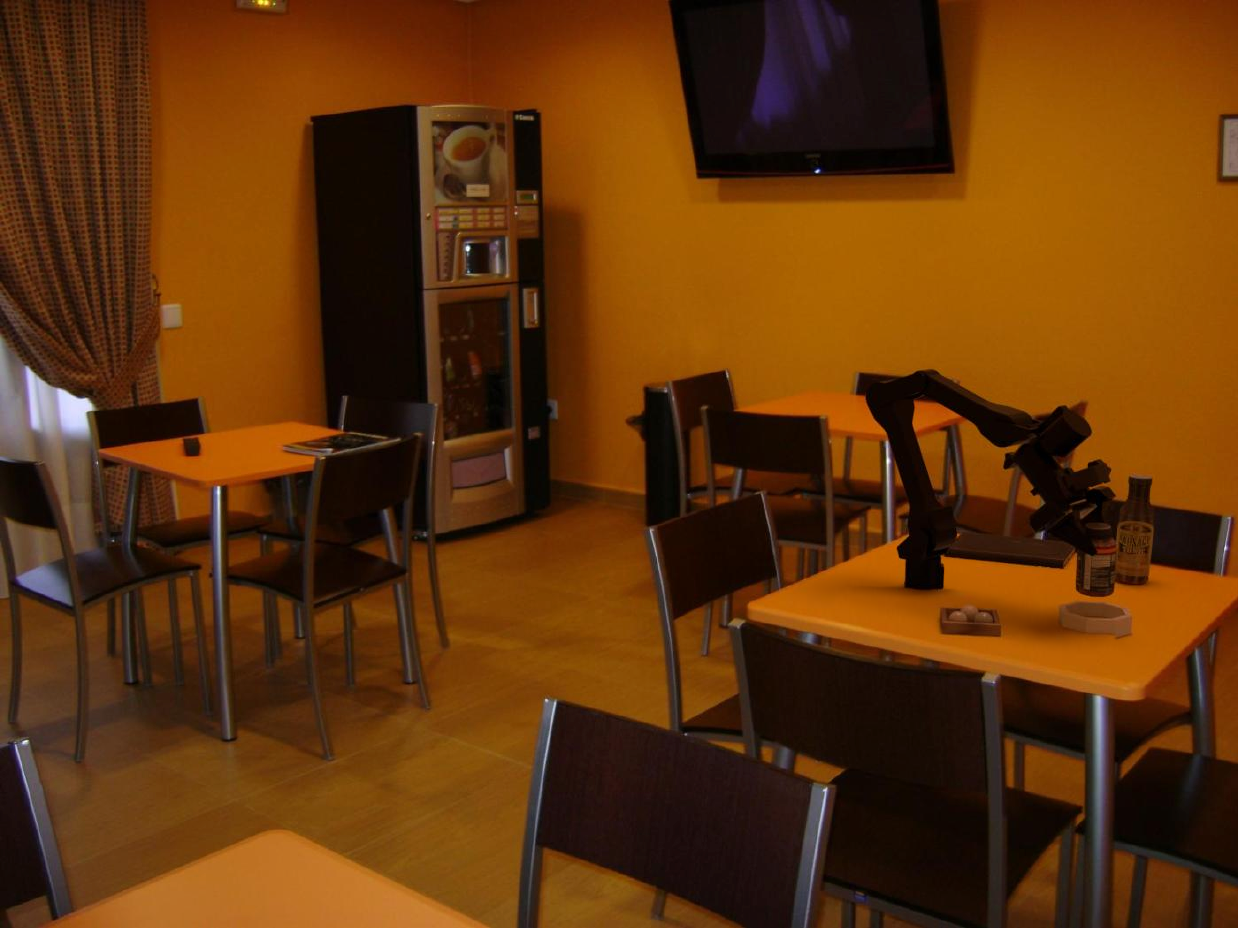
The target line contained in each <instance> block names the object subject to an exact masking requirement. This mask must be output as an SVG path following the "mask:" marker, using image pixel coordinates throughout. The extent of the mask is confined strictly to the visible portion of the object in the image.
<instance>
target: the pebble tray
mask: <svg viewBox="0 0 1238 928" xmlns="http://www.w3.org/2000/svg"><path fill="white" fill-rule="evenodd" d="M976 608H977V607H976ZM961 609H962V607H957V606H956V607H955V606H954V607H953V606H940V617H939V618H940V626H941V633H942V635H944V634H945V635H961V636H964V635H966V636H983V637H1002V635H1001V633H1002V624H1001V621H1000V616H999V613H998V609H997V608H996V609H995V608H979V607H978V608H977V610H978V612H979V613H980V612H986V613H988V614H990V615H991V616H992V618H993V623H974V622H952V621H948V619H949V616H950V614H951V613H953V612H955V611H960V610H961Z"/></svg>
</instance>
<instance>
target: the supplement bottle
mask: <svg viewBox="0 0 1238 928" xmlns="http://www.w3.org/2000/svg"><path fill="white" fill-rule="evenodd" d="M1084 530H1085V532H1086V533H1087V535H1088V536H1089V538H1090V540H1091V541H1092V543H1093V544H1094V546H1095V548H1096V550H1097V554H1095V555H1094V556H1090V555H1089V554H1087V553H1085V552H1083V551H1081V550H1080V549H1078V548H1076V568H1075V573H1076V574H1075V591H1076V592H1077V593H1079V594H1080V595H1083V596H1086V597H1091V598H1105V597H1108V596H1112V595H1113V594H1114V593H1115V584H1116V583H1115V582H1116V580H1115V568H1116V548H1117V545H1116V540H1115V538H1114V539H1113V538H1111V537H1110V534H1111V531H1112V526H1111V525H1110V524H1109V525H1108V524H1104V523H1088V524H1086V525H1085V529H1084Z"/></svg>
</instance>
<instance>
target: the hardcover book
mask: <svg viewBox="0 0 1238 928" xmlns="http://www.w3.org/2000/svg"><path fill="white" fill-rule="evenodd" d="M1075 551H1076V547H1074V546H1072V545H1070V544H1068V543H1066V542H1064V541H1062V540H1052V539H1043V538H1042V539H1041V538H1032V537H1030V538H1029V537H1022V536H1020V537H1019V536H1013V535H1011V536H1010V535H999V534H991V533H980V532H972V531H971V532H969V531H963V532H961V533H960V534H959V535H957V538H956V539H955V541H954V543H953V544H952V545H951V546H950V548H949V551H948V553H947V555H943V557H944V558H955V559H962V560H963V559H964V560H971V561H982V562H991V563H992V562H993V563H1003V564H1011V565H1019V564H1020V566H1031V567H1038V566H1041V567H1040V568H1047V567H1050V568H1049V569H1057V568H1059V569H1060V570H1064V566H1065V565H1066V564H1067V563H1068V561H1069V560H1070V559H1071V558H1072V556H1073V555H1072V554H1075ZM1069 558H1070V559H1069ZM1068 559H1069V560H1068ZM1059 569H1058V570H1059Z"/></svg>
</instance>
